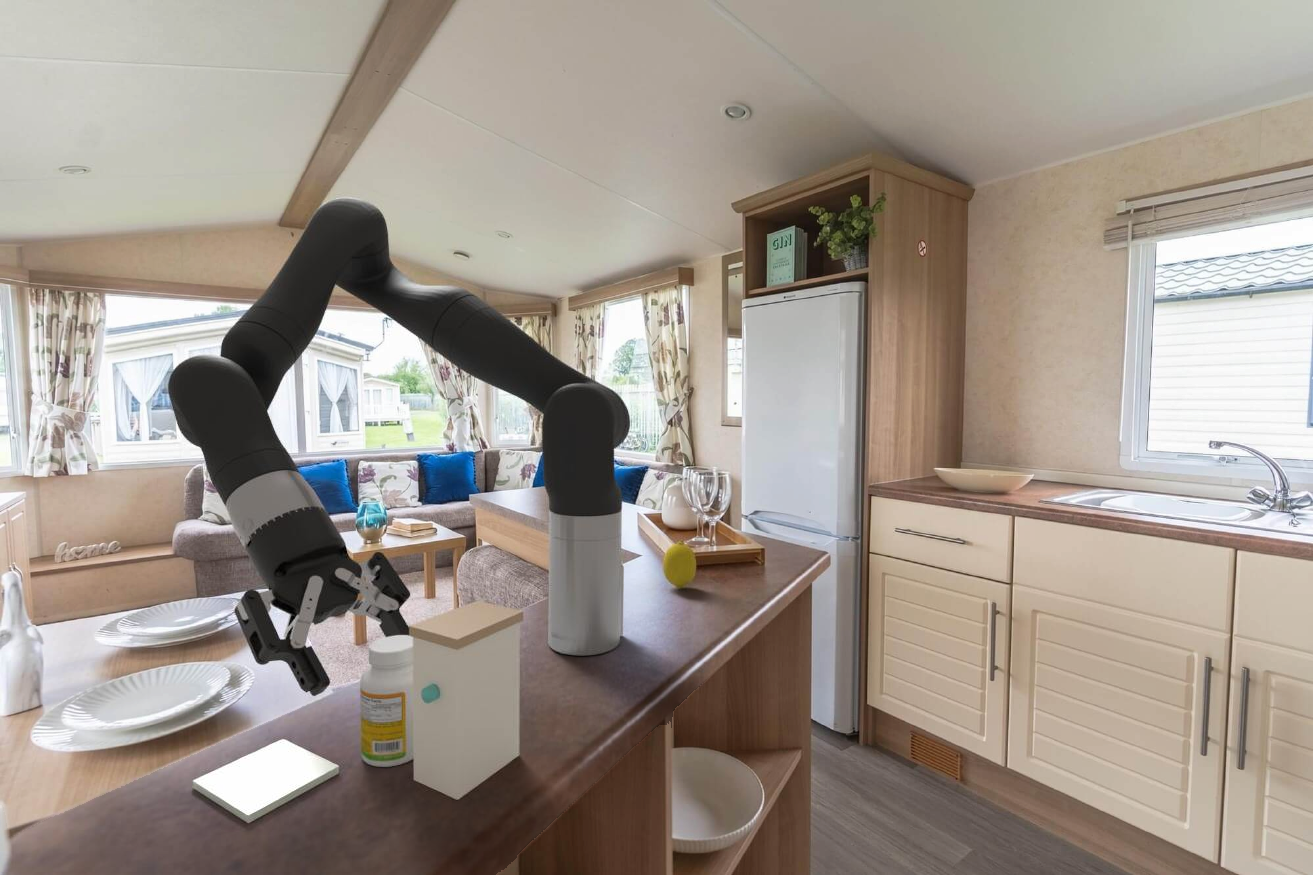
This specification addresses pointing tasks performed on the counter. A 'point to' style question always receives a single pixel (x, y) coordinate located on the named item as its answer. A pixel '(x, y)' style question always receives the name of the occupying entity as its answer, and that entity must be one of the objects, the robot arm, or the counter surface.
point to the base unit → (465, 696)
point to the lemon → (679, 565)
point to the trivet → (265, 779)
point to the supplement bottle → (388, 702)
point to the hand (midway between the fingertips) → (366, 668)
